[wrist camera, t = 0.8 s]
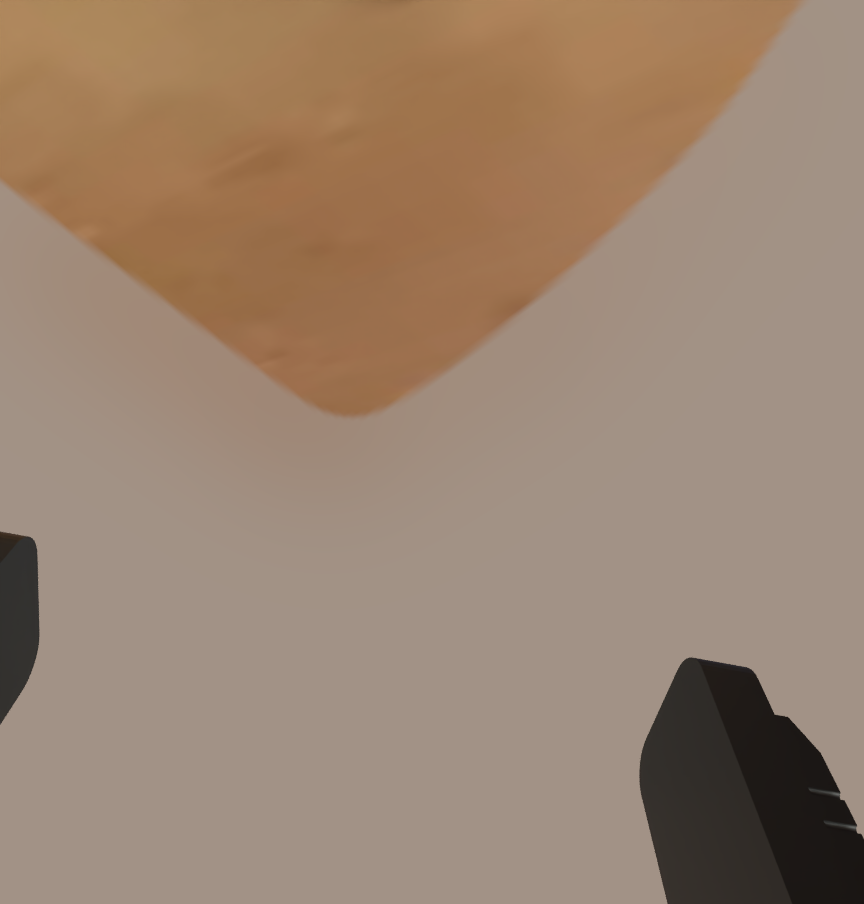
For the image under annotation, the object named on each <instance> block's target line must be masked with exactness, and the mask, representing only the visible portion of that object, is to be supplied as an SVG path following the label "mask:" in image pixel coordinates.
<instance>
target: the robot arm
mask: <svg viewBox="0 0 864 904" xmlns="http://www.w3.org/2000/svg"><path fill="white" fill-rule="evenodd" d="M38 645H39V601H38V562H37V548H36V544H35V541H34V540H33V539H32V538H31V537H26V536H21V535H16V534H10V533H4V532H0V724H1V723H2V721H3V720H4V718H5V716H6V715H7V713H8V712H9V710H10V709H11V707H12V705H13V704H14V703H15V701H16V699H17V698H18V696H19V695H20V693H21V692H22V690H23V688H24V687H25V685H26V683H27V681H28V679H29V676H30V674H31V671H32V668H33V666H34V663H35V659H36V655H37V651H38ZM640 790H641V795H642V799H643V803H644V808H645V812H646V816H647V820H648V824H649V829H650V832H651V837H652V841H653V845H654V849H655V853H656V857H657V862H658V866H659V870H660V874H661V878H662V882H663V886H664V890H665V894H666V899H667V903H668V904H864V839H863V836H862V835H861V834H858V833H857V831H856V827H857V824H856V823H855V820H854V819H853V816H852V814H851V812H850V810H849V808H848V807H847V804H846V803H845V801H844V800H840V791H839V789H838V787H837V785H836V783H835V781H834V779H833V777H832V775H831V773H830V771H829V769H828V767H827V765H826V763H825V761H824V759H823V757H822V755H821V753H820V752H819V751H818V750H817V749H816V747H814V745H813V744H812V743H811V742H810V741H809V740H808V739H807V738H806V736H805V735H804V734H803V733H802V732H801V731H800V730H799V729H798V728H797V726H796V725H795V724H794V723H793V722H792V721H791V720H790V719H789V718H788V717H785V716H779V715H774V712H773V710H772V708H771V706H770V704H769V701H768V700H767V697H766V695H765V693H764V691H763V689H762V686H761V684H760V682H759V680H758V678H757V676H756V674H755V673H754V672H753V671H752V670H751V669H749V668H747V667H742V666H736V665H731V664H725V663H719V662H713V661H708V660H702V659H697V658H688V659H686V660H684V661H683V662H682V664H681V665H680V667H679V668H678V670H677V673H676V675H675V677H674V679H673V681H672V684H671V686H670V688H669V690H668V692H667V694H666V697H665V699H664V701H663V703H662V705H661V708H660V710H659V712H658V714H657V716H656V718H655V721H654V723H653V725H652V727H651V729H650V732H649V734H648V736H647V738H646V741H645V743H644V747H643V750H642V754H641V761H640Z"/></svg>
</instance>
